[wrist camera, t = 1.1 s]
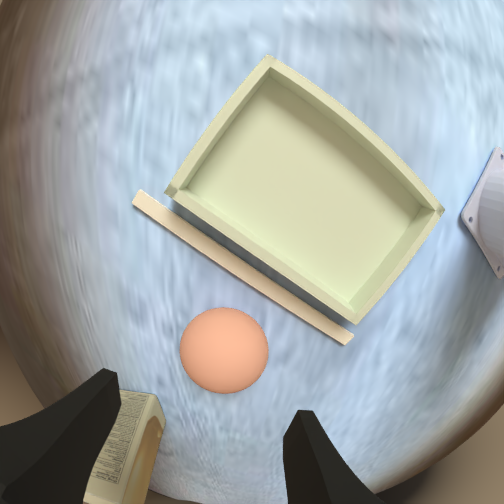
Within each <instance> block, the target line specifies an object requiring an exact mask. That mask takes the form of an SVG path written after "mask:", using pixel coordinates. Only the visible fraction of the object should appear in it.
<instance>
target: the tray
mask: <svg viewBox="0 0 504 504" xmlns="http://www.w3.org/2000/svg"><path fill="white" fill-rule="evenodd" d="M164 193H165V194H166V195H168V196H169V197H171V198H172V199H173V200H175V201H176V202H178V203H179V204H181V205H182V206H184V207H185V208H186V209H188V210H189V211H191V212H192V213H194V214H195V215H197V216H198V217H200V218H201V219H202V220H204V221H205V222H207V223H208V224H210V225H211V226H213V227H214V228H215V229H217V230H218V231H220V232H221V233H223V234H224V235H226V236H227V237H228V238H230V239H231V240H233V241H234V242H236V243H237V244H239V245H240V246H241V247H243V248H244V249H246V250H247V251H249V252H250V253H252V254H253V255H254V256H256V257H257V258H259V259H260V260H262V261H263V262H265V263H266V264H268V265H269V266H270V267H272V268H273V269H275V270H276V271H278V272H279V273H281V274H282V275H283V276H285V277H286V278H288V279H289V280H291V281H292V282H294V283H295V284H297V285H298V286H299V287H301V288H302V289H304V290H305V291H307V292H308V293H310V294H311V295H312V296H314V297H315V298H317V299H318V300H320V301H321V302H323V303H324V304H326V305H327V306H328V307H330V308H331V309H333V310H334V311H336V312H337V313H339V314H340V315H342V316H343V317H344V318H346V319H347V320H349V321H350V322H352V323H353V324H355V325H357V324H358V323H359V322H360V321H361V319H362V318H363V317H364V316H365V315H366V314H367V313H368V312H369V311H370V309H371V308H372V307H373V306H374V305H375V304H376V303H377V301H378V300H379V299H380V298H381V297H382V295H383V294H384V293H385V292H386V291H387V289H388V288H389V287H390V286H391V285H392V283H393V282H394V281H395V280H396V278H397V277H398V276H399V275H400V273H401V272H402V271H403V269H404V268H405V267H406V266H407V264H408V263H409V262H410V260H411V259H412V258H413V256H414V255H415V253H416V252H417V251H418V249H419V248H420V247H421V245H422V244H423V242H424V241H425V239H426V238H427V237H428V235H429V234H430V232H431V231H432V229H433V228H434V226H435V225H436V223H437V222H438V220H439V219H440V217H441V216H442V214H443V212H444V211H445V209H444V208H443V206H442V205H441V204H440V203H439V201H438V200H437V199H436V198H435V196H434V195H433V194H432V193H431V192H430V190H429V189H428V188H427V187H426V186H425V185H424V183H423V182H422V181H421V180H420V179H419V178H418V177H417V175H416V174H415V173H414V172H413V171H412V170H411V169H410V168H409V167H408V166H407V165H406V164H405V163H404V161H403V160H402V159H401V158H400V157H399V156H398V155H397V154H396V153H395V152H394V151H393V150H392V149H391V148H390V147H389V146H388V145H387V144H386V143H385V142H384V141H382V140H381V139H380V138H379V137H378V136H377V135H376V134H375V133H374V132H373V131H372V130H371V129H370V128H368V127H367V126H366V125H365V124H364V123H363V122H362V121H360V120H359V119H358V118H357V117H356V116H355V115H353V114H352V113H351V112H350V111H349V110H347V109H346V108H345V107H344V106H342V105H341V104H340V103H339V102H337V101H336V100H335V99H334V98H332V97H331V96H330V95H328V94H327V93H326V92H324V91H323V90H322V89H320V88H319V87H318V86H316V85H315V84H313V83H312V82H311V81H309V80H308V79H306V78H305V77H303V76H302V75H300V74H299V73H297V72H296V71H294V70H293V69H291V68H290V67H288V66H287V65H285V64H283V63H282V62H280V61H279V60H277V59H275V58H274V57H272V56H270V55H269V54H267V55H266V56H265V57H264V58H263V59H262V60H261V62H260V63H259V64H258V65H257V66H256V67H255V68H254V70H253V71H252V72H251V73H250V74H249V75H248V77H247V78H246V79H245V80H244V81H243V82H242V84H241V85H240V86H239V87H238V89H237V90H236V91H235V92H234V93H233V95H232V96H231V97H230V99H229V100H228V101H227V102H226V104H225V105H224V106H223V107H222V109H221V110H220V111H219V113H218V114H217V115H216V117H215V118H214V119H213V121H212V122H211V123H210V125H209V126H208V127H207V129H206V130H205V132H204V133H203V134H202V136H201V137H200V139H199V140H198V141H197V143H196V144H195V146H194V147H193V149H192V150H191V152H190V153H189V155H188V156H187V158H186V159H185V161H184V162H183V164H182V165H181V167H180V168H179V170H178V171H177V173H176V174H175V176H174V177H173V179H172V181H171V182H170V184H169V185H168V187H167V189H166V190H165V192H164Z"/></svg>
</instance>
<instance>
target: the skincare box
mask: <svg viewBox="0 0 504 504" xmlns="http://www.w3.org/2000/svg"><path fill="white" fill-rule="evenodd" d="M119 391H120V397H121V403H122V405H121V408H120V410H119V413H118V416H117V419H116V422H115V424H114V426H113V428H112V430H111V432H110V434H109V436H108V438H107V440H106V442H105V444H104V446H103V448H102V450H101V452H100V454H99V456H98V458H97V460H96V462H95V464H94V466H93V469H92V472H91V475H90V478H89V481H88V485H87V488H86V492H85V496H84V499H83V501H85V502H87V503H90V504H144V502H145V498H146V494H147V490H148V486H149V482H150V478H151V474H152V471H153V467H154V463H155V459H156V456H157V452H158V448H159V444H160V441H161V437H162V434H163V430H164V427H165V423H166V419H165V417H164V414H163V411H162V409H161V406H160V403H159V401H158V398H157V396H156V395H154V394H147V393H139V392H131V391H124V390H119Z"/></svg>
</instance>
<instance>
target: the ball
mask: <svg viewBox="0 0 504 504" xmlns="http://www.w3.org/2000/svg"><path fill="white" fill-rule="evenodd" d="M180 357H181V362H182V365H183V367H184V369H185V371H186V373H187V374H188V376H189V377H190V378H191V379H192V380H193V381H194V382H195V383H196V384H198V385H199V386H200V387H202V388H204V389H206V390H208V391H211V392H215V393H222V394H228V393H235V392H238V391H241V390H244V389H246V388H247V387H249V386H251V385H252V384H253V383H254V382H256V380H257V379H258V378H259V377H260V376H261V374H262V373H263V371H264V369H265V367H266V364H267V360H268V343H267V339H266V336H265V334H264V332H263V330H262V328H261V327H260V325H259V324H258V323H257V322H256V321H255V320H254V319H253V318H252V317H250V316H249V315H248V314H246V313H244V312H242V311H239V310H237V309H233V308H224V307H223V308H214V309H210V310H207V311H205V312H203V313H201V314H199V315H198V316H196V317H195V318H194V319H193V320H192V321H191V322H190V323H189V324H188V325H187V327H186V329H185V331H184V332H183V335H182V338H181V342H180Z"/></svg>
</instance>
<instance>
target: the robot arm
mask: <svg viewBox="0 0 504 504" xmlns="http://www.w3.org/2000/svg"><path fill="white" fill-rule="evenodd" d="M461 218H462V220H463V222H464V223H465V225H466V226H467V228H468V229H469V231H470V232H471V234H472V235H473V237H474V238H475V240H476V242H477V243H478V245H479V246H480V248H481V250H482V251H483V253H484V255H485V256H486V258H487V260H488V262H489V263H490V265H491V267H492V269H493V271H494V273H495V274H496V276H497V278H499V279H501V278H502V277H503V276H504V154H503V152H502V150H501V148H500V147H495V148H494V150H493V153H492V155H491V157H490V159H489V161H488V163H487V166H486V168H485V170H484V172H483V174H482V176H481V178H480V180H479V182H478V184H477V186H476V187H475V189H474V191H473V193H472V195H471V197H470V198H469V200H468V202H467V204H466V205H465V207H464V209H463V211H462V213H461ZM469 218H470V220H469ZM121 405H122V403H121V397H120V391H119V384H118V377H117V373H116V372H113V371H110V370H108V369H105V368H103V369H101V370H100V371H99V372H97V373H96V374H95V375H93V376H92V377H91V378H90V379H88V380H87V381H86V382H84V383H83V384H82V385H80V386H79V387H78V388H76V389H75V390H73V391H72V392H70V393H69V394H68V395H66V396H65V397H63V398H62V399H60V400H58V401H57V402H55V403H54V404H52V405H50V406H49V407H47V408H45V409H43V410H42V411H40V412H38V413H36V414H33V415H31V416H30V417H27V418H24V419H22V420H19V421H17V422H14V423H11V424H8V425H4V426H1V427H0V504H83V499H84V496H85V492H86V488H87V485H88V481H89V478H90V475H91V472H92V469H93V466H94V464H95V462H96V460H97V458H98V456H99V454H100V452H101V450H102V448H103V446H104V444H105V442H106V440H107V438H108V436H109V434H110V432H111V430H112V428H113V426H114V424H115V422H116V419H117V416H118V413H119V410H120V408H121ZM283 463H284V472H285V480H286V489H287V497H288V504H386V503H385V502H383V501H382V500H380V498H378V497H377V496H376V495H375V494H374V493H373V492H371V491H370V490H369V489H368V488H367V487H366V486H365V485H364V484H363V483H362V482H361V481H360V480H359V478H358V477H357V476H356V475H355V474H354V473H353V471H352V470H351V469H350V468H349V466H348V465H347V464H346V463H345V461H344V460H343V459H342V457H341V456H340V454H339V453H338V451H337V450H336V448H335V447H334V445H333V444H332V442H331V441H330V439H329V438H328V436H327V434H326V433H325V431H324V429H323V428H322V426H321V424H320V422H319V421H318V419H317V417H316V415H315V414H314V412H313V411H309V410H298V411H297V413H296V415H295V417H294V418H293V420H292V422H291V424H290V426H289V428H288V429H287V431H286V433H285V435H284V437H283Z"/></svg>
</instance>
